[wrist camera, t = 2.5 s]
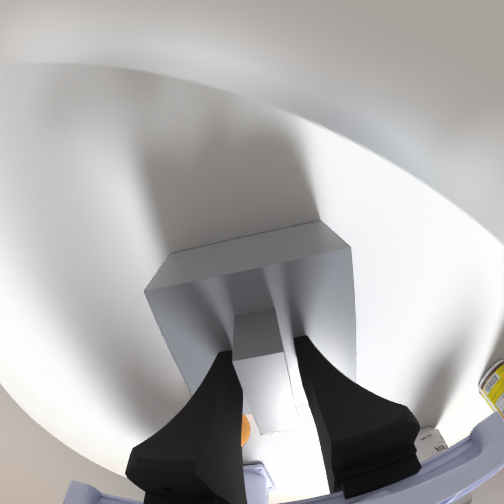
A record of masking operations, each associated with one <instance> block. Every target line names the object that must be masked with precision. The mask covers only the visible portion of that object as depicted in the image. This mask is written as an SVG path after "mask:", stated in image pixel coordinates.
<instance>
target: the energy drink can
mask: <svg viewBox="0 0 504 504" xmlns="http://www.w3.org/2000/svg"><path fill="white" fill-rule="evenodd" d="M414 445H415V447H416V449H417V452H416V455H417V457H418V460H419V462H422V461H424V460H426V459H428V458H430V457H432V456H434V455H436V454H438V453H440V452H442V451H444V450H446V449H447V448H448V446H447V445H446V443H445V441H444V439H443V437H442V435H441V434H440V432H439V430H438V429H433V428H432V427H425V428H422V429H420V431H419V433H418V435H417V438H416V440H415V442H414ZM471 501H472V494H471V492H469V493H468V494H466V495H465V496H463V497H462V498H460V499H459V500H457V501H455V502H454V503H452V504H471Z"/></svg>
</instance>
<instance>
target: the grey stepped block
mask: <svg viewBox="0 0 504 504" xmlns="http://www.w3.org/2000/svg"><path fill="white" fill-rule="evenodd" d="M144 293H145V295H146V298H147V300H148V303H149V305H150V308H151V310H152V312H153V315H154V317H155V319H156V322H157V324H158V326H159V328H160V331H161V333H162V335H163V337H164V339H165V342H166V344H167V346H168V348H169V350H170V352H171V354H172V356H173V358H174V360H175V362H176V364H177V366H178V368H179V370H180V372H181V374H182V376H183V378H184V380H185V382H186V384H187V386H188V388H189V389H190V391H191V393H192V395H194V393H195V392H196V390H197V389H198V387H199V386H200V384H201V383H202V381H203V379H204V378H205V376H206V374H207V373H208V371H209V369H210V367H211V365H212V364H213V362H214V360H215V358H216V356H217V354H218V353H219V352H222V351H228V350H232V362H233V365H234V368H235V371H236V373H237V376H238V379H239V381H240V384H241V387H242V389H243V415H245V414H252V415H253V417H254V420H255V422H256V425H257V427H258V429H259V432H260V434H261V435H263V434H269V433H275V432H281V431H287V430H292V429H297V428H299V423H298V417H297V412H296V407H295V406H297V405H302V404H306V403H308V401H307V398H306V395H305V392H304V389H303V386H302V382H301V377H300V373H299V368H298V363H297V357H296V351H295V346H294V340H293V338H295V337H300V336H304V335H307V336H309V338H310V339H311V341H312V342H313V344H314V345H315V346H316V348H317V349H318V350H319V351H320V352H321V353H322V354H323V356H324V357H325V358H326V359H327V360H328V361H329V362H330V363H331V364H332V365H334V366H335V367H336V368H337V369H338V370H339V371H340V372H342V373H343V374H344V375H345V376H347V377H348V378H349V379H351V380H352V381H353V382H355V383H356V316H355V294H354V278H353V265H352V254H351V247H350V246H349V245H348V244H347V243H346V242H345V241H344V240H343V239H342V238H340V237H339V236H338V235H337V234H336V233H335V232H334V231H332V230H331V229H330V228H329V227H328V226H327V225H326V224H324V223H323V222H322V221H321V220H320V221H316V222H311V223H306V224H301V225H297V226H292V227H287V228H283V229H278V230H273V231H269V232H264V233H260V234H255V235H251V236H246V237H242V238H237V239H233V240H228V241H224V242H219V243H215V244H210V245H206V246H202V247H197V248H193V249H189V250H184V251H180V252H176V253H172V254H170V255H169V256H168V257H167V259H166V260H165V262H164V263H163V264H162V266H161V267H160V269H159V270H158V271H157V273H156V274H155V276H154V277H153V279H152V280H151V281H150V283H149V284H148V286H147V287H146V289H145V290H144Z"/></svg>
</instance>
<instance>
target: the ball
mask: <svg viewBox="0 0 504 504" xmlns="http://www.w3.org/2000/svg"><path fill="white" fill-rule="evenodd" d="M249 435H250V425H249V422H248V420H247V418H246V417H245V415H242V432H241V446H243V445H244V444H245V443H246V442H247V440H248V438H249Z"/></svg>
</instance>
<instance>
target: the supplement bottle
mask: <svg viewBox="0 0 504 504" xmlns="http://www.w3.org/2000/svg"><path fill="white" fill-rule="evenodd" d="M478 390H479V393H480V394H481V395H482V397H483V398H484V399H485V400H486V402H487V403H488V405H489V406H490V407H491V409H492V410H493V411H494V412H495V411H498V413H499V414H500V415H501V417H502V418H503V419H504V360H500V361H498V362H496V363H495V364H494V365H493V366H492V367H491V368H490V369H489V370H488V371H487V372H486V373H485V375H484V376H483V378H482V379H481V381H480V384H479V387H478Z"/></svg>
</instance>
